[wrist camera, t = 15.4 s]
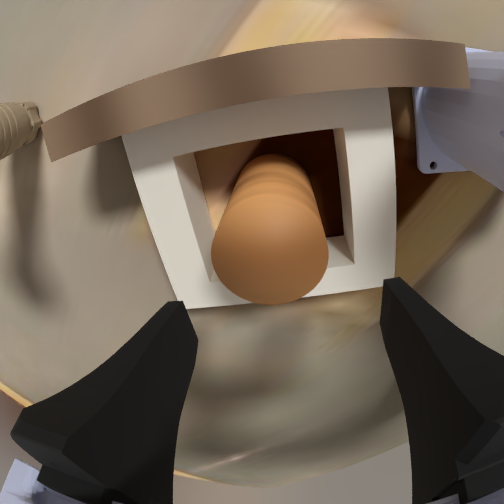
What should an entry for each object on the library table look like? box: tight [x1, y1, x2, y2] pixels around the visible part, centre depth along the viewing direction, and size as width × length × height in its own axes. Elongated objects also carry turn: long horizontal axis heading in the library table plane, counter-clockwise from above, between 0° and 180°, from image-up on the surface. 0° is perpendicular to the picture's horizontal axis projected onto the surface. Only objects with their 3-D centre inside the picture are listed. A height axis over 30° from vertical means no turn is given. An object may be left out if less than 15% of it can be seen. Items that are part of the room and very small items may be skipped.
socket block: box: [121, 87, 396, 309], centre depth 17 cm, size 13×11×4 cm
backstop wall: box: [41, 38, 471, 162], centre depth 13 cm, size 19×2×6 cm, turn 101°
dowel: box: [211, 153, 329, 305], centre depth 15 cm, size 4×4×8 cm
